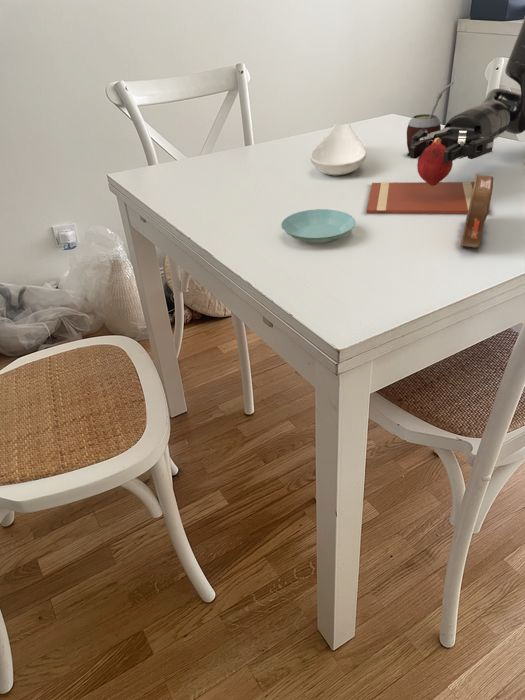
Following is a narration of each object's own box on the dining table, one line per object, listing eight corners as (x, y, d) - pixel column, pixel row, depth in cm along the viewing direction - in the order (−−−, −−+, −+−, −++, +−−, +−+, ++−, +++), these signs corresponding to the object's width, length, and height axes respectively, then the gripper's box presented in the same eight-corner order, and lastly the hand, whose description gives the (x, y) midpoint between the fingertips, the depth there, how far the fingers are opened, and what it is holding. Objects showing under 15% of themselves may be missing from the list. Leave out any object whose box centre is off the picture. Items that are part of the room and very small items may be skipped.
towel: (480, 185, 101) (480, 181, 101) (488, 214, 89) (489, 210, 89) (372, 185, 106) (372, 182, 106) (366, 213, 94) (366, 210, 94)
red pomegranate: (444, 192, 91) (449, 143, 87) (411, 189, 94) (414, 142, 90) (454, 181, 95) (459, 134, 91) (422, 179, 98) (425, 133, 94)
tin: (466, 218, 89) (473, 166, 84) (486, 219, 88) (495, 166, 83) (458, 256, 77) (466, 198, 73) (481, 258, 76) (491, 200, 72)
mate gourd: (402, 151, 124) (407, 79, 115) (438, 149, 123) (445, 76, 114) (408, 160, 117) (414, 85, 109) (445, 158, 117) (454, 82, 108)
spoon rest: (365, 180, 109) (366, 143, 105) (307, 181, 111) (306, 145, 107) (367, 148, 128) (367, 116, 124) (317, 150, 130) (316, 119, 126)
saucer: (369, 231, 87) (370, 218, 86) (322, 257, 81) (321, 243, 80) (315, 216, 95) (314, 204, 93) (267, 239, 88) (266, 225, 87)
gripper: (438, 106, 102) (391, 127, 92) (515, 111, 93) (474, 135, 84) (434, 147, 106) (389, 171, 96) (507, 155, 98) (467, 183, 88)
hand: (429, 154), depth 90 cm, fingers closed on red pomegranate, 5 cm apart
